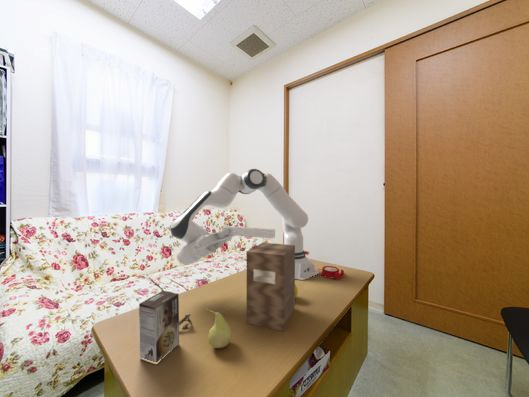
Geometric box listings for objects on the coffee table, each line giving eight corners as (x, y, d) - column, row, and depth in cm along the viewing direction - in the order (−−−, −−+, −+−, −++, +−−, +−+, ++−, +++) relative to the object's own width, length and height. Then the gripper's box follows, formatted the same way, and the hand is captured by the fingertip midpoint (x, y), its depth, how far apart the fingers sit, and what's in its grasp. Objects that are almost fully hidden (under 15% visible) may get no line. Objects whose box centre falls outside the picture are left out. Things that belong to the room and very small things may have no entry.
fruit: (232, 352, 64) (232, 311, 64) (206, 356, 63) (206, 314, 63) (231, 337, 71) (231, 301, 71) (207, 340, 69) (207, 303, 69)
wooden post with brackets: (195, 323, 78) (190, 313, 76) (174, 340, 73) (168, 330, 72) (193, 321, 79) (188, 311, 78) (172, 338, 75) (166, 328, 73)
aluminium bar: (222, 234, 90) (222, 227, 90) (225, 233, 93) (225, 226, 93) (272, 238, 82) (272, 230, 82) (275, 237, 85) (275, 229, 85)
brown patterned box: (245, 323, 79) (245, 251, 78) (262, 302, 94) (262, 242, 94) (283, 332, 74) (283, 255, 73) (294, 308, 89) (294, 245, 89)
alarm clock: (325, 264, 135) (348, 264, 124) (327, 275, 134) (350, 276, 123) (316, 268, 128) (339, 269, 117) (318, 279, 127) (342, 281, 116)
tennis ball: (300, 300, 96) (300, 284, 96) (286, 303, 93) (286, 287, 93) (292, 294, 103) (292, 279, 102) (279, 296, 100) (279, 281, 100)
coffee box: (163, 340, 70) (163, 289, 70) (180, 344, 68) (179, 292, 68) (138, 360, 61) (138, 303, 61) (156, 366, 59) (156, 307, 59)
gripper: (187, 242, 85) (213, 226, 81) (217, 233, 104) (239, 220, 100) (194, 256, 84) (221, 241, 80) (222, 245, 103) (245, 232, 99)
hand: (231, 229), depth 90 cm, fingers closed on aluminium bar, 3 cm apart
